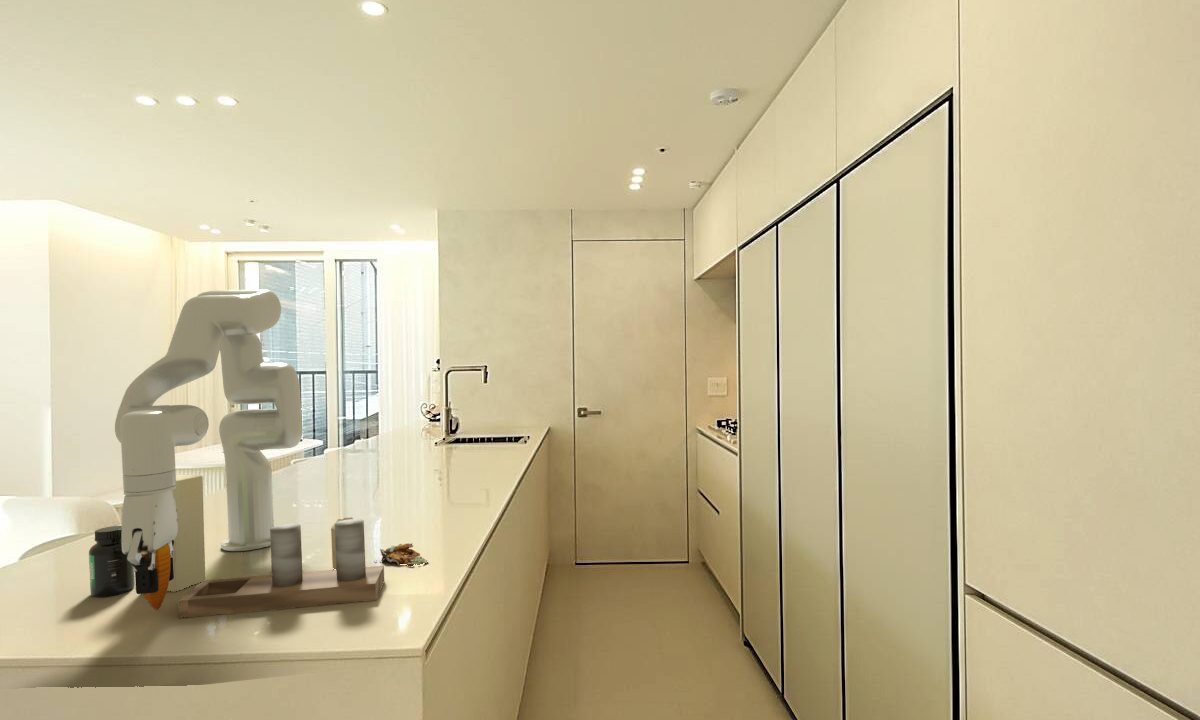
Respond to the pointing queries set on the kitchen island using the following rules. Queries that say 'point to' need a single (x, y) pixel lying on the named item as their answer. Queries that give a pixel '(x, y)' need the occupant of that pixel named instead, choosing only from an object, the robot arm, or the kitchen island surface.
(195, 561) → the beige tall rectangular block
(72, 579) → the kitchen island surface
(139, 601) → the kitchen island surface
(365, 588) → the rail
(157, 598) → the carrot
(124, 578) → the supplement bottle
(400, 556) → the brown irregular lump
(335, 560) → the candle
